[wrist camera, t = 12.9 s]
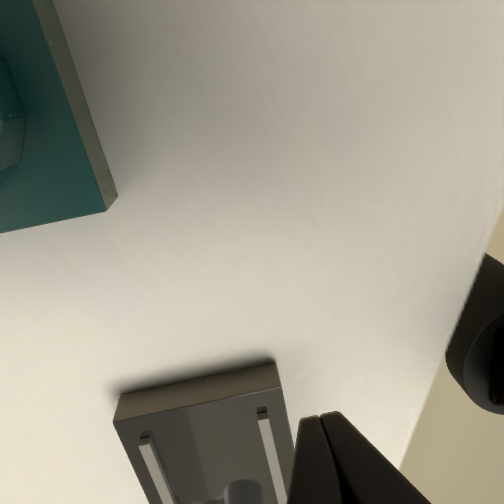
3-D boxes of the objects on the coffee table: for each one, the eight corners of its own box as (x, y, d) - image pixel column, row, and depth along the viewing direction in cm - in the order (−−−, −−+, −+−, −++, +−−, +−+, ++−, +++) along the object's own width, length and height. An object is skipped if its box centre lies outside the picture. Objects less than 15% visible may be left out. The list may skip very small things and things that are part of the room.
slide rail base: (275, 361, 23) (282, 393, 20) (313, 548, 30) (322, 587, 28) (119, 394, 23) (109, 430, 20) (196, 574, 30) (195, 615, 28)
